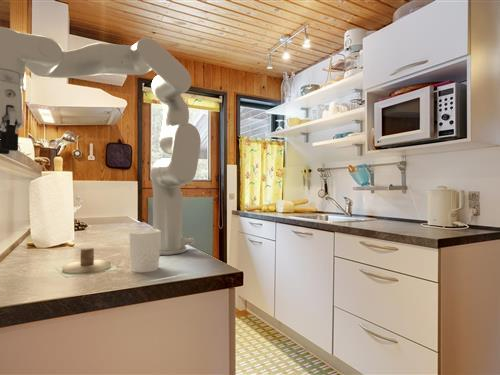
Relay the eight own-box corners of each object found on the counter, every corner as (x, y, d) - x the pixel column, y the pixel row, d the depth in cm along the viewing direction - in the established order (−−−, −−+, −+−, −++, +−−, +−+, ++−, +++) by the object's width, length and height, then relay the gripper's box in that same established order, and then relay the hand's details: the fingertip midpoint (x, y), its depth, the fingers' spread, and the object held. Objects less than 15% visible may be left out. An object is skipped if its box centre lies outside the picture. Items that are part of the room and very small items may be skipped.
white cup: (143, 276, 75) (143, 234, 75) (121, 271, 79) (121, 232, 79) (167, 269, 82) (167, 230, 82) (145, 265, 86) (146, 228, 86)
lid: (103, 261, 88) (103, 243, 88) (116, 268, 80) (116, 249, 80) (57, 267, 81) (58, 248, 81) (67, 276, 73) (68, 254, 73)
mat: (104, 262, 89) (104, 261, 89) (119, 270, 80) (119, 268, 80) (55, 269, 81) (55, 267, 81) (65, 279, 72) (65, 277, 72)
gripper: (33, 77, 73) (32, 150, 73) (16, 93, 85) (15, 156, 85) (-8, 67, 68) (-9, 146, 67) (-20, 86, 79) (-21, 153, 79)
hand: (4, 151), depth 76 cm, fingers open, 9 cm apart
